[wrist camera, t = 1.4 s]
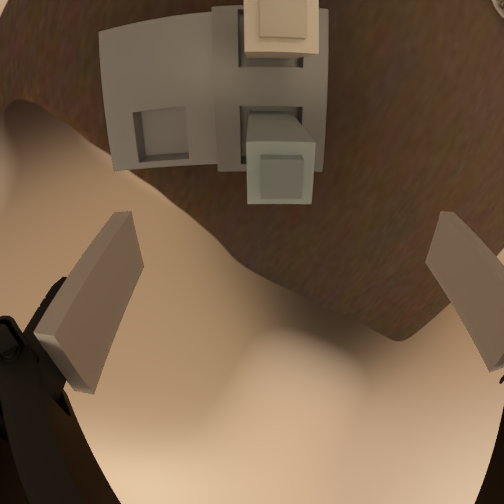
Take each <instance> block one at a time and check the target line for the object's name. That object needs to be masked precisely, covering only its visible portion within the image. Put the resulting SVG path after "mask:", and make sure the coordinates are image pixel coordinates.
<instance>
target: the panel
mask: <svg viewBox="0 0 504 504" xmlns="http://www.w3.org/2000/svg"><path fill="white" fill-rule="evenodd" d="M99 51H100V67H101V79H102V90H103V100H104V109H105V117H106V124H107V132H108V138H109V145H110V151H111V157H112V163H113V169H114V171H121V170H131V169H142V168H154V167H168V166H184V165H203V164H218V172H231V171H247V157H246V138H247V127H248V116H249V111H291V112H292V114H293V115H294V116H295V117H296V119H297V120H298V121H299V122H300V123H301V125H302V126H303V127H304V128H305V130H306V131H307V132H308V133H309V135H310V136H311V137H312V138H313V140H314V141H315V142H316V146H315V162H314V172H323V160H324V145H325V129H326V111H327V86H328V9H323V8H319V54H316V55H311V56H306V57H301V58H296V59H291V60H290V59H248V58H247V56H246V54H245V49H244V5H232V6H215V7H212V12H203V13H193V14H185V15H177V16H170V17H164V18H158V19H152V20H147V21H142V22H137V23H132V24H128V25H124V26H119V27H115V28H112V29H108V30H104V31H100V32H99Z"/></svg>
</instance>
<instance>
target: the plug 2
mask: <svg viewBox="0 0 504 504" xmlns="http://www.w3.org/2000/svg"><path fill="white" fill-rule="evenodd" d="M315 146H316V142H315V141H314V140H313V138H312V137H311V136H310V135H309V133H308V132H307V131H306V130H305V128H304V127H303V126H302V125H301V123H300V122H299V121H298V120H297V119H296V117H295V116H294V115H293V114H292V112H291V111H249V116H248V127H247V138H246V157H247V204H311V203H312V190H313V177H314V162H315Z"/></svg>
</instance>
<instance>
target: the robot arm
mask: <svg viewBox="0 0 504 504" xmlns="http://www.w3.org/2000/svg"><path fill="white" fill-rule="evenodd" d="M425 263H426V264H427V266H428V267H429V269H430V270H431V272H432V273H433V275H434V276H435V278H436V279H437V281H438V282H439V284H440V285H441V287H442V289H443V290H444V292H445V293H446V295H447V297H448V298H449V300H450V301H451V303H452V305H453V306H454V308H455V309H456V311H457V313H458V315H459V316H460V318H461V320H462V322H463V323H464V325H465V327H466V328H467V330H468V332H469V334H470V336H471V337H472V339H473V341H474V343H475V345H476V347H477V348H478V350H479V352H480V354H481V356H482V358H483V360H484V362H485V364H486V366H487V368H488V370H489V372H492V371H495V370H498V369H501V368H503V367H504V265H503V264H502V263H501V262H500V261H499V259H498V258H497V257H496V256H495V255H494V254H493V253H492V252H491V250H490V249H489V248H488V247H487V246H486V245H485V244H484V243H483V242H482V241H481V240H480V239H479V237H478V236H477V235H476V234H475V233H474V232H473V231H472V230H471V229H470V228H469V227H468V226H467V225H466V224H465V223H464V222H463V221H462V220H461V219H460V218H459V217H458V216H457V215H456V214H455V213H454V212H444V211H441V212H440V215H439V219H438V223H437V226H436V230H435V233H434V236H433V240H432V243H431V246H430V249H429V252H428V255H427V258H426V261H425ZM143 268H144V264H143V260H142V256H141V252H140V248H139V244H138V240H137V235H136V231H135V226H134V222H133V217H132V212H131V211H126V212H115V213H114V214H113V215H112V216H111V218H110V219H109V220H108V221H107V223H106V224H105V225H104V227H103V228H102V229H101V231H100V232H99V233H98V235H97V236H96V237H95V239H94V240H93V241H92V243H91V244H90V245H89V247H88V248H87V250H86V251H85V252H84V254H83V255H82V257H81V258H80V259H79V261H78V262H77V264H76V266H75V267H74V268H73V270H72V271H71V272H70V274H69V275H68V277H62V278H61V279H60V280H59V281H58V282H56V283H55V284H54V285H53V286H52V287H51V289H50V290H49V292H48V293H47V295H46V298H45V299H43V301H42V303H41V304H40V307H38V309H37V311H36V312H35V314H34V316H33V317H32V319H31V320H30V322H29V324H28V325H27V327H26V329H25V330H24V332H23V333H22V331H21V330H20V328H19V327H18V325H17V323H16V322H15V320H14V319H13V318H12V317H10V316H1V317H0V504H121V503H120V501H119V500H118V498H117V497H116V495H115V493H114V492H113V490H112V488H111V486H110V485H109V483H108V481H107V480H106V478H105V476H104V474H103V472H102V470H101V469H100V467H99V465H98V463H97V461H96V459H95V457H94V455H93V453H92V451H91V449H90V447H89V445H88V443H87V441H86V439H85V436H84V434H83V432H82V430H81V428H80V426H79V423H78V421H77V418H76V416H75V414H74V411H73V409H72V406H71V404H70V401H69V398H68V396H67V394H66V392H65V391H64V389H63V388H64V385H65V383H66V380H67V382H68V383H69V384H70V385H71V387H72V388H73V389H74V391H79V392H83V393H88V394H94V393H95V390H96V387H97V384H98V381H99V378H100V375H101V372H102V370H103V367H104V364H105V361H106V359H107V356H108V353H109V350H110V348H111V345H112V342H113V340H114V337H115V335H116V332H117V330H118V327H119V324H120V322H121V319H122V317H123V314H124V312H125V310H126V307H127V305H128V302H129V300H130V298H131V295H132V293H133V291H134V288H135V286H136V283H137V281H138V279H139V277H140V275H141V272H142V270H143ZM503 381H504V376H503V377H502V378H501V380H500V382H499V383H500V384H501V383H502V382H503ZM475 504H504V408H503V413H502V417H501V422H500V426H499V431H498V435H497V439H496V442H495V446H494V450H493V453H492V457H491V460H490V463H489V466H488V469H487V472H486V475H485V478H484V481H483V484H482V486H481V489H480V492H479V494H478V497H477V499H476V502H475Z"/></svg>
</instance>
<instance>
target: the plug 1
mask: <svg viewBox="0 0 504 504" xmlns="http://www.w3.org/2000/svg"><path fill="white" fill-rule="evenodd" d="M244 49H245V54H246V56H247V58H248V59H290V60H291V59H296V58H301V57H306V56H311V55H316V54H319V1H318V0H244Z"/></svg>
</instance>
